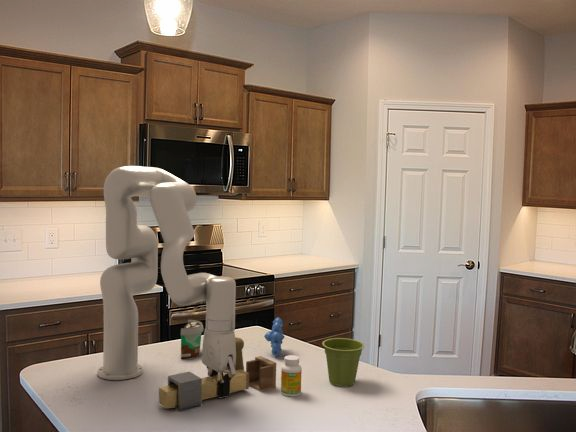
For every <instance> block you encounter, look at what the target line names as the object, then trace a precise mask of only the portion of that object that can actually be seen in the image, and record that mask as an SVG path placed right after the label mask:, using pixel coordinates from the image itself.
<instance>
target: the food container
mask: <svg viewBox="0 0 576 432" xmlns="http://www.w3.org/2000/svg"><path fill="white" fill-rule="evenodd" d="M203 332H205V328H204V325H203V322H201V321H199V320H194V319H187V324H185V325H184V327H183V328H180V359H181V360H189V359H190V358H191V359H195V358H198V357H199V356H200V355H199V354H200V353H201V343H202V333H203ZM197 356H198V357H197Z"/></svg>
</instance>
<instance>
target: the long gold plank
mask: <svg viewBox="0 0 576 432" xmlns="http://www.w3.org/2000/svg"><path fill="white" fill-rule="evenodd" d="M223 374H224V375H225V374H227V373H223ZM201 378H202V395H201V401H204V400H207V399H211V398H215V397H218V382H220V376H219V374H218V375H214V376H205V377H201ZM243 390H244V391H245V390H250V386H249V373H247V372H246V370H244V371H243V370H241V369H239V370H237V371H236V375H235V376H233V377H232V378H231V381H230V394H231V393H237V392H240V391H243ZM158 396H159V397H158V404H159V405H160V406H162V407H163V408H164V409H171V408H174V407H175V406H178V385H177V384H173V385H168V384H167V385H165V386H159V388H158Z"/></svg>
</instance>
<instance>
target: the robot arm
mask: <svg viewBox="0 0 576 432" xmlns="http://www.w3.org/2000/svg"><path fill="white" fill-rule="evenodd" d="M196 193H197V192H196V191H195V189H194V188H193V186H192V185H190V184H189V183H188V182H186V181H184V180H182V179H181V178H179V177H177V176H175V175H174V174H172V173H170V172H168V171H166V170H164V169H162V168H159V167H153V166H142V165H124V166H119V167H116V168H114V169H112V170H111V172H109V173H108V175H107V176H106V178H105V180H104V184H103V198H104V205H105V249H106V254H107V255H108V256H109V257H110V258H111V259H113V260H114V259H115V260H129V259H131V261H130V262H125V263H118V264H115V265H111V266H109V267H107V268H106V269H105V270H103V272H102V274H101V276H100V279H99V280H100V281H99V286H100V290H101V291H100V292H101V296H102V305H103V349H102V350H103V357H102V358H103V363H102V365H103V366H101V367H99V368H98V369H97V376H98V377H99V378H101V379H104V380H109V381H121V380H128V379H133V378H137V377H138V376H141V374H143V372H144V367H143V366H142V365H141V364H139V363H138V360H139V359H138V357H139V352H138V351H139V310H138V309H139V308H138V306H137V304H136V301H135V300H134V296H136V295H140V294H144V293H147V292H150V291H151V290H153V289H154V287H156V284H157V281H158V271H159V270H158V267H159V266H158V262H159V259H158V258H159V257H158V255H159V252H158V251H159V244H158V242H159V241H158V238H157V235H156V233H155V232H154V230H153V229H152V227H150V226H148V225H144V224H138V223H137V222H138V212H137V208H136V204H135V203H134V200H133V199H132V198H133V197H148V198H149V202H150V205H151V209H152V211H153V215H154V217H155V220H156V223H157V225H158V228H159V232H160V235H161V237H162V240H163V249H162V251H161V257H160V259H161V260H160V274H161V277H162V280H163V284H164V286H165V289H166V292H167V294H168V296H169V298H170V299H171V301H172V302H173V303H175V304H176V305H178V306H180V307H185V306H187V307H188V306H190V305H193V304H197V303H202V302H205V328H204V331H203V332H204V333H203V336H202V337H203V338H202V339H203V340H202V346H201V347H202V348H201V351H202V352H201V363H202V364H203V365H204V366H205V367H206V369H207V377H209V376H214V375H218V374H219V376H220V382H218V396H217V397H218V398H219V399H222V398H227V397H230V394H231V393H230V381H231V378H232V377H233V376H235V375H236V371H235V366H236V342H235V337H236V335H235V330H236V329H235V328H236V296H237V295H236V293H237V289H236V286H237V285H236V284H237V283H236V280H235V279H234V278H233V277H231V276H221V275H220V276H217V275H214V274H211V273H207V272H198V273H192V274H187V271H186V269H185V264H184V251H185V249H186V247H187V245H188V243H189V242H190V241H192V240H193V238H194V237H195V229H194V227H193V225H192V221H191V219H190V216H189V213H188V212H190V211H193V209H194V208H195V207H196V205H197V198H198V197H197V194H196ZM226 367H227V369H226ZM224 372H227V374H225V375H224V374H223V373H224Z"/></svg>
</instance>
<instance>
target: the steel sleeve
mask: <svg viewBox="0 0 576 432" xmlns="http://www.w3.org/2000/svg"><path fill="white" fill-rule="evenodd" d="M202 378H203V377H200V376H198V375H196V374H195V373H193V372H191V371H185V372H180V373H176V374H170V375H167V386H168V385H173V384H177V385H178V406H175V407H173V408H174V409H175V410H177V411H178V412H180V413H181V412H184V411H188V410H191V409H196V408H199V407H202V400H201V395H202Z"/></svg>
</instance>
